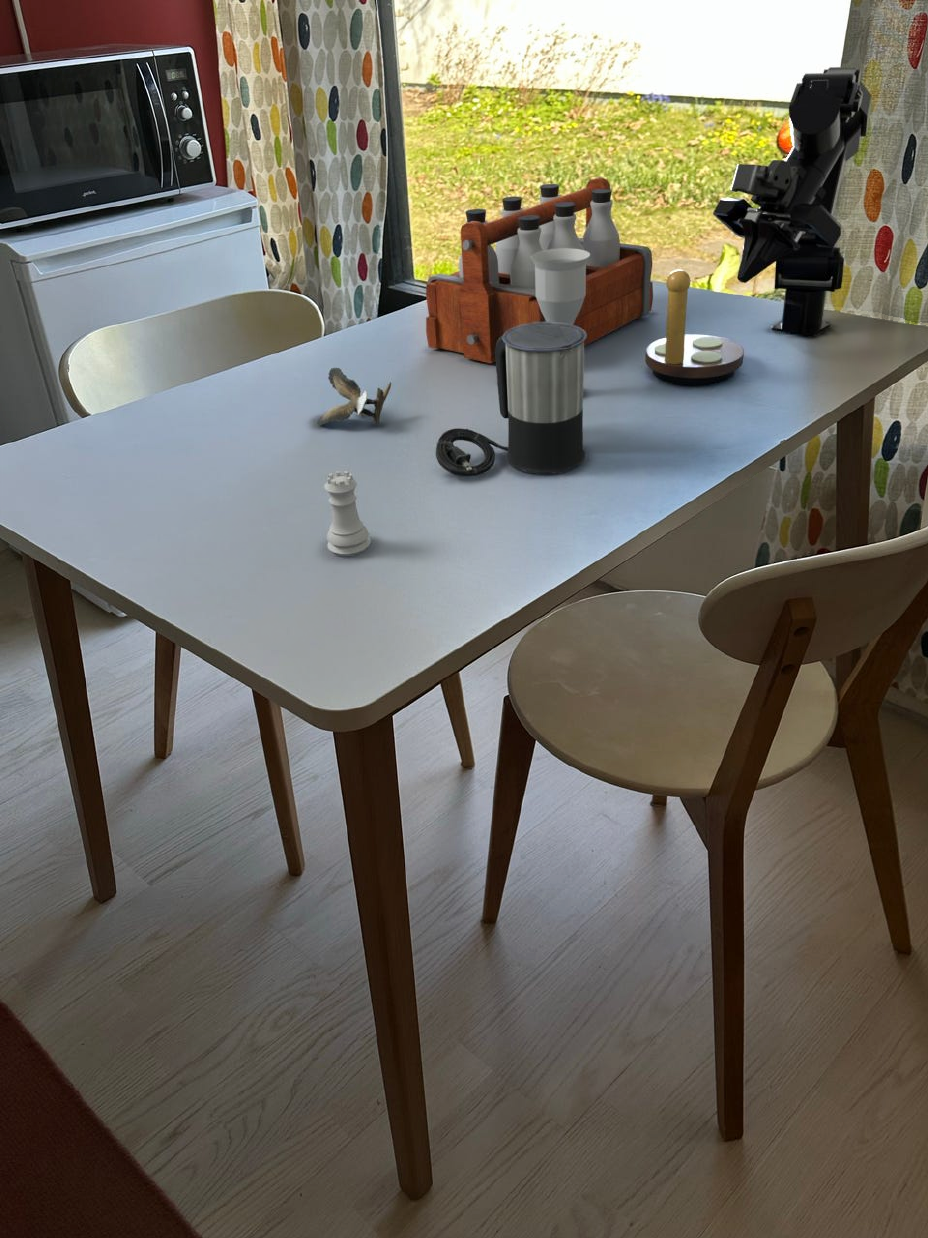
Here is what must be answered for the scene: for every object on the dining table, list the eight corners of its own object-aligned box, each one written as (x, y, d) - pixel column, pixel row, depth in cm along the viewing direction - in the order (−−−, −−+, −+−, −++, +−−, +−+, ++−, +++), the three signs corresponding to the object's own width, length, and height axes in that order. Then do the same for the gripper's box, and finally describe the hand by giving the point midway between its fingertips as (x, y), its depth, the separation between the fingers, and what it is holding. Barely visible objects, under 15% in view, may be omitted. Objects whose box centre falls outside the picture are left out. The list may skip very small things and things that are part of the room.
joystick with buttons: (746, 346, 144) (756, 248, 136) (738, 380, 133) (748, 276, 126) (653, 342, 147) (657, 246, 140) (638, 375, 137) (641, 273, 130)
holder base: (679, 352, 148) (680, 344, 147) (749, 367, 141) (750, 358, 141) (636, 375, 141) (636, 367, 140) (707, 392, 135) (708, 383, 134)
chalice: (588, 384, 139) (590, 247, 129) (589, 403, 134) (590, 261, 124) (534, 385, 140) (531, 249, 130) (532, 404, 135) (529, 263, 125)
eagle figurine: (396, 400, 136) (333, 384, 137) (388, 368, 129) (322, 351, 131) (376, 448, 133) (311, 432, 135) (367, 418, 126) (300, 401, 128)
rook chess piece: (328, 538, 108) (317, 468, 103) (371, 534, 108) (362, 464, 103) (327, 560, 104) (316, 488, 100) (371, 555, 104) (362, 484, 100)
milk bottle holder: (416, 354, 154) (404, 218, 143) (552, 292, 176) (551, 170, 165) (530, 380, 142) (526, 234, 131) (661, 310, 164) (667, 180, 153)
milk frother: (602, 455, 120) (604, 330, 112) (511, 505, 112) (506, 372, 103) (512, 426, 129) (508, 308, 121) (421, 470, 120) (409, 345, 112)
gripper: (719, 133, 136) (658, 241, 138) (822, 133, 121) (752, 254, 123) (769, 181, 142) (710, 284, 145) (872, 187, 127) (804, 302, 129)
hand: (741, 280), depth 135 cm, fingers closed
